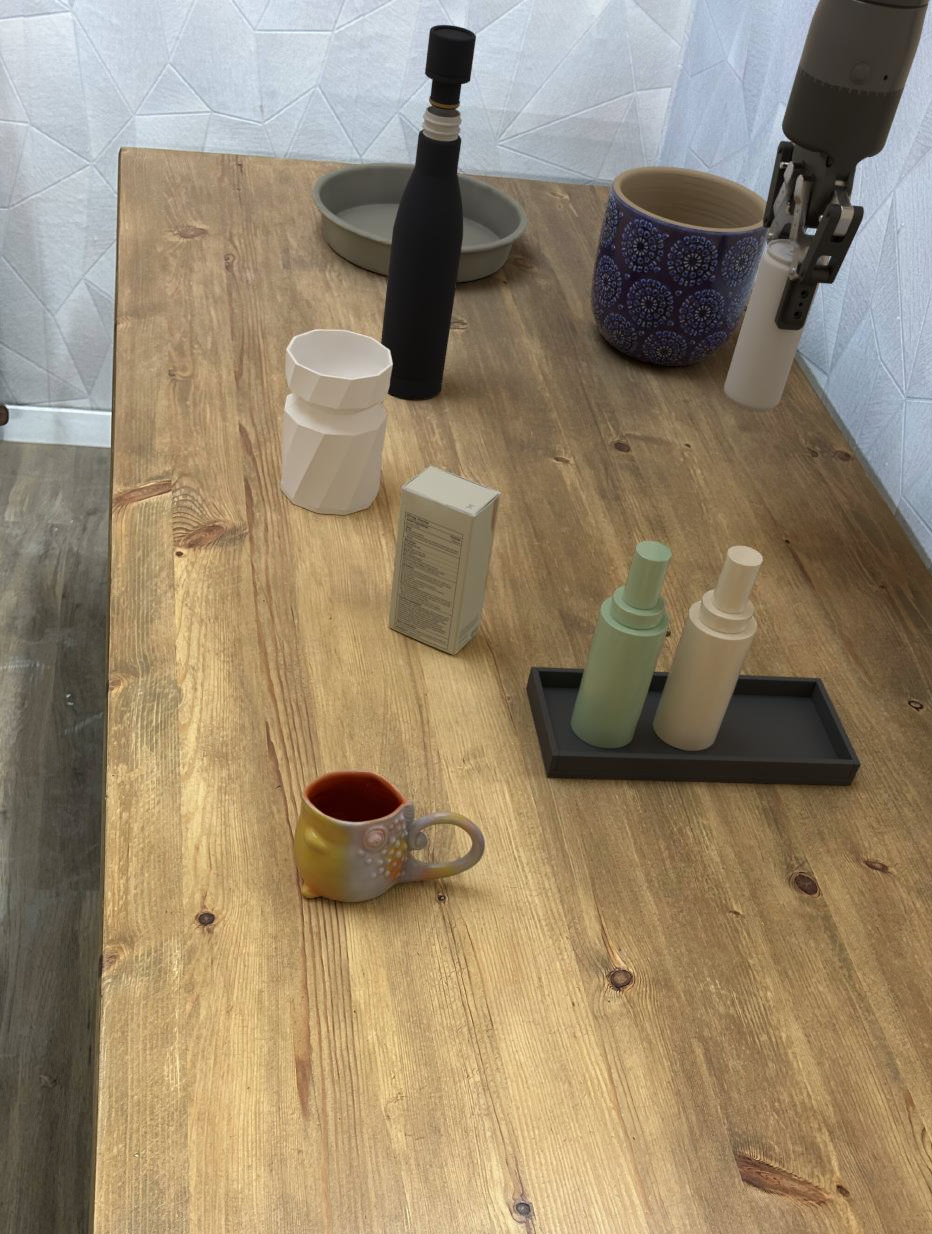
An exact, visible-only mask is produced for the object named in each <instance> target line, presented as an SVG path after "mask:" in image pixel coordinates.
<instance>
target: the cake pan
mask: <svg viewBox="0 0 932 1234" xmlns="http://www.w3.org/2000/svg"><path fill="white" fill-rule="evenodd" d="M414 167H415V164H412V163H401V162H400V163H399V162H370V163H360V164H353V165H348V166H344V167H340V168H336V169H334V170H331V171H329V172H327V173H326V174H324V175H322V176H321V177H320V178H318V179H317V180H316V181H315V183H314V184H313V186H312V189H311V198H312V201H313V203H314V205H315V207H316V208H317V210H318V211H319V212H320V214H321V221H322V228H323V229H322V230H323V233H324V239H325V241H326V242H327V244H328V245H329V247H330V248H331V249H332V250H333V251H334V252H335V253H337V255H339V256H341V257H342V258H343V259H345V260H346V261H348V262H350V263H352V264H354V265H356V266H358V267H360V268H362V269H364V270H368V271H370V272H373V273H376V274H378V275H379V274H380V275H382V276H387V277H388V272H389V262H390V253H391V244H392V234H393V227H394V223H395V219H396V215H397V211H398V208H399V204H400V201H401V198H402V195H403V192H404V190H405V188H406V185H407V183H408V181H409V178H410V176H411V174H412V172H413V169H414ZM457 174H458V180H459V186H460V192H461V199H462V207H463V240H462V247H461V254H460V261H459V268H458V275H457V282H456V284H458V283H463V282H464V283H465V282H472V281H476V280H480V279H484V278H486V277H488V276H491V275H493V274H494V273H496V272H498V271H499V270H500V269H501V268H502V267H503V266H504V265H505V263H506V261H507V259H508V257H509V254H510V252H511V249H512V247H513V244H514V243H515V242H516V241H517V240H519V239H520V238H521V237H522V236H523V234H524V233H525V232H526V230H527V228H528V224H529V223H528V222H529V218H528V215H527V212H526V211H525V209H524V208H523V206H522V205H521V203H519V201H518V200H516V199H515V198H514V197H512V196H511V195H510V194H509V193H507V192H506V191H503V190H502V189H500V188H498V187H496V186H494V185H493V184H490V183H488V182H487V181H483V180H480V179H478V178H476V177H473V176H470V175H467V174H463V173H460V172H457Z"/></svg>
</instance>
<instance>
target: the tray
mask: <svg viewBox="0 0 932 1234" xmlns="http://www.w3.org/2000/svg"><path fill="white" fill-rule="evenodd" d="M583 672H584V668H576V667H575V668H574V667H548V666H531V667H530V670H529V673H528V679H527V683H526V686H525V690H526V694H527V698H528V702H529V706H530V711H531V715H532V720H533V723H534V727H535V732H536V737H537V740H538V745H539V749H540V752H541V753H540V754H541V757H542V761H543V766H544V770H545V774H546V778H556V779H557V778H559V779H595V780H597V779H598V780H631V781H632V780H634V781H667V782H669V781H671V782H674V781H675V782H708V783H711V782H712V783H743V784H744V783H745V784H747V783H748V784H781V785H783V784H786V785H788V784H789V785H819V786H820V785H821V786H822V785H823V786H852V783H853V781H854V779H855V778H856V776H857V773H858V771H859V769H860V768H861V765H862V764H861V761H860V759H859V757H858V755H857V752H856V751H855V749H854V747H853V744H852V742H851V740H850V738H849V735H848V734H847V731H846V729H845V727H844V725H843V723H842V721H841V719H840V717H839V714H838V712H837V710H836V707H835V706H834V704H833V702H832V700H831V697H830V695H829V693H828V691H827V689H826V687H825V684H824V683H823V680H822V678H821V677H804V676H803V677H802V676H779V675H778V676H776V675H756V674H755V675H751V674H740V676H739V678H738V681H737V684H736V686H735V689H734V692H733V694H732V697H731V700H730V702H729V705H728V708H727V710H726V713H725V716H724V718H723V721H722V724H721V726H720V729H719V732H718V734H717V737H716V740H715V742H714V743H713V744H712V745H711V746H710V747H708V748H706V749H704V750H700V751H686V750H681V749H678V748H675V747H672V746H670V745H668V744H667V743H665V742H664V741H662V740H661V739H660V738H659V737H658V736H657V734H656V733H655V731H654V728H653V720H654V716H655V713H656V710H657V707H658V704H659V701H660V698H661V695H662V692H663V689H664V686H665V683H666V680H667V677H668V674H669V671H654V674H653V678H652V681H651V684H650V687H649V690H648V693H647V697H646V700H645V703H644V706H643V709H642V712H641V716H640V719H639V722H638V725H637V728H636V731H635V735H634V737H633V739H632V741H631V742H630V743H628V744H627V745H625V746H623V747H619V748H613V749H607V748H600V747H596V746H593V745H590V744H588V743H586V742H584V741H583V740H581V739H580V738H579V737H578V736H577V735H576V734H575V733H574V731H573V730H572V727H571V717H572V713H573V709H574V706H575V702H576V698H577V694H578V691H579V687H580V683H581V679H582V676H583Z"/></svg>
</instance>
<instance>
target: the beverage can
mask: <svg viewBox="0 0 932 1234" xmlns="http://www.w3.org/2000/svg"><path fill="white" fill-rule="evenodd" d="M809 247H810V246H808V247H807V248H806V250H805V255H804V258H805V256H806V254H807V251H808V249H809ZM793 250H794V246H793V245H792V244H791V243H790V241H789V239H777V240H773V241H771V242H769V244H768V245H767V244H766V250H764V252H763V255H762V258H761V262H760V265H759V268H758V271H757V274H756V277H755V280H754V283H753V286H752V289H751V292H750V296H749V299H748V304H747V307H746V310H745V313H744V316H743V317H744V318H743V321H742V324H741V328H740V330H739V335H738V338H737V341H736V344H735V349H734V352H733V354H732V358H731V362H730V365H729V368H728V371H727V376H726V378H725V382H724V386H723V391H724V394H725V398H727V400H728V401H729V402H730V403H731V404H732V405H733V406H735V407H737V408H739V409H741V410H744V411H748V412H753V413H763V412H768V411H771V410H773V409H775V408H776V406H777V405H779V404H780V402H781V399H782V396H783V393H784V391H785V387H786V383H787V380H788V377H789V375H790V372H791V368H792V366H793V363H794V359H795V356H796V353H797V351H798V347H799V344H800V341H801V338H802V336H803V333H804V330H805V327H806V324H807V321H808V318H809V317H810V312H811V309H812V307H813V304H814V302H815V300H816V299H815V298H816V296H817V292H818V289H819V287H820V284H821V283H818V284H817V287H816V290H815V293H814V296H813V299H812V302H811V305H810V308H809V312H808V315H807V318H806V321H805V324H804V326H803V327H802V328H801V329H800V330H783V329H779V328H778V327H777V325H776V323H775V317H776V314H777V310H778V307H779V304H780V301H781V297H782V294H783V291H784V288H785V285H786V281H787V278H788V277H789V271H790V266H791V261H792V255H793Z"/></svg>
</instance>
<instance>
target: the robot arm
mask: <svg viewBox="0 0 932 1234" xmlns="http://www.w3.org/2000/svg"><path fill="white" fill-rule="evenodd" d="M930 1H931V0H818V3H817V5H816V7H815V10H814V12H813V15H812V17H811V18H812V19H811V21H810V24H809V27H808V31H807V34H806V38H805V41H804V44H803V49H802V52H801V56H800V59H799V62H798V66H797V69H796V73H795V76H794V79H793V84H792V87H791V91H790V94H789V97H788V101H787V105H786V108H785V112H784V115H783V118H782V122H781V129H782V133H783V135H784V136H785V137H786V138H787V139H788V141H787V140H780V142H779V143H778V146H777V150H776V155H775V159H774V165H773V170H772V174H771V179H770V184H769V190H768V194H767V198H766V202H767V203H766V208H765V213H764V217H763V227H764V228H770V229H769V231H768V234H767V241H766V246H767V245H768V244H769V242H771V241H773V240H777V239H789V241H790V243H791V244H792V245H793V246H794V250H793V255H792V261H791V266H790V271H789V277H788V278H787V281H786V285H785V288H784V291H783V294H782V297H781V301H780V304H779V307H778V310H777V314H776V317H775V323H776V325H777V327H778V328H779V329H783V330H800V329H801V328H802V327H803V326H804V324H805V321H806V318H807V315H808V312H809V308H810V305H811V302H812V299H813V296H814V293H815V290H816V287H817V284H818V283H820V284H826V285H827V284H828V285H832V284H834V282H835V280H836V278H837V276H838V274H839V271H840V270H841V267H842V265H843V263H844V261H845V258H846V257H847V254H848V252H849V250H850V248H851V246H852V243H853V241H854V239H855V237H856V235H857V232H858V231H859V228H860V226H861V224H862V221H863V219H864V216H865V215H864V214H865V209H864V206H862V205H854V204H852V203H851V198H852V194H853V189H854V182H855V175H856V172H857V166H858V164H859V163H860V162H862V161H863V160H866V159H867V158H873V157H875V156H877V155H878V154H880V153H881V152H882V151H883V149H884V148H885V146H886V144H887V140H888V137H889V134H890V131H891V129H892V125H893V122H894V120H895V117H896V113H897V110H898V109H899V106H900V105H899V104H900V102H901V100H902V99H901V98H902V95H903V94H904V90H905V87H906V85H907V84H906V83H907V81H908V78H909V76H910V72H911V69H912V66H913V63H914V60H915V58H916V54H917V52H918V48H919V44H920V41H921V37H922V33H923V29H924V24H925V19H926V15H927V11H928V7H929V5H930V4H929V3H930ZM808 229H814V230H815V233H814V234H808V233H807V231H808ZM808 246H810V247H809V249H808V251H807V254H806V256H805V258H804V255H805V250H806V248H807V247H808ZM806 322H807V321H806ZM805 325H806V324H805Z"/></svg>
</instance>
